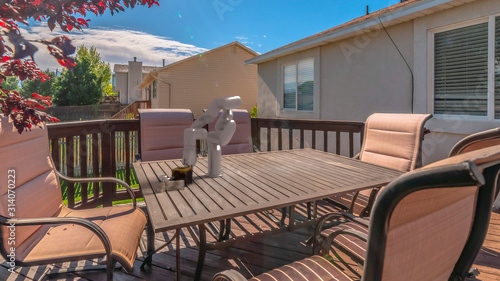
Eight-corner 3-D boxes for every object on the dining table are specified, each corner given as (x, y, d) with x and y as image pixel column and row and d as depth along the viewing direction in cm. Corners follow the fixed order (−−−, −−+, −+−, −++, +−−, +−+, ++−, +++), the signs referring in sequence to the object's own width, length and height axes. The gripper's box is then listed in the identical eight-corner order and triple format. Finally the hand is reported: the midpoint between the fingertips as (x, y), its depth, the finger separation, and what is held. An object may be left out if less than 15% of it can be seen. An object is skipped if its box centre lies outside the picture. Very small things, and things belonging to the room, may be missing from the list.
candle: (186, 186, 175) (186, 170, 174) (170, 185, 177) (170, 169, 176) (192, 182, 185) (192, 167, 184) (178, 181, 187) (178, 166, 186)
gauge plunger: (170, 178, 174) (170, 172, 174) (176, 179, 172) (176, 172, 172) (157, 182, 164) (157, 176, 163) (163, 183, 162) (163, 176, 161)
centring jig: (163, 185, 177) (163, 177, 177) (185, 188, 171) (185, 180, 170) (148, 190, 165) (147, 182, 165) (170, 194, 159) (170, 185, 158)
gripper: (192, 146, 195) (192, 172, 197) (177, 148, 181) (178, 177, 183) (201, 146, 192) (201, 173, 194) (187, 149, 178) (187, 178, 180)
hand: (190, 175), depth 188 cm, fingers closed
